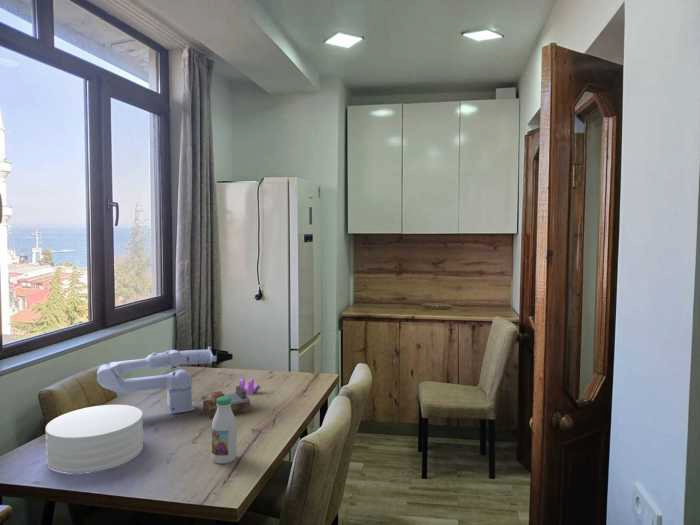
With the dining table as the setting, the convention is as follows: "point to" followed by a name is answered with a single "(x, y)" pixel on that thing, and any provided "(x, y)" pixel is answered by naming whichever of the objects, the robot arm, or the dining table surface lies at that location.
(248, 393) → the bracket
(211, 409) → the brown tray
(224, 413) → the milk bottle
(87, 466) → the plate stack
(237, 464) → the dining table surface
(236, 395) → the lid
